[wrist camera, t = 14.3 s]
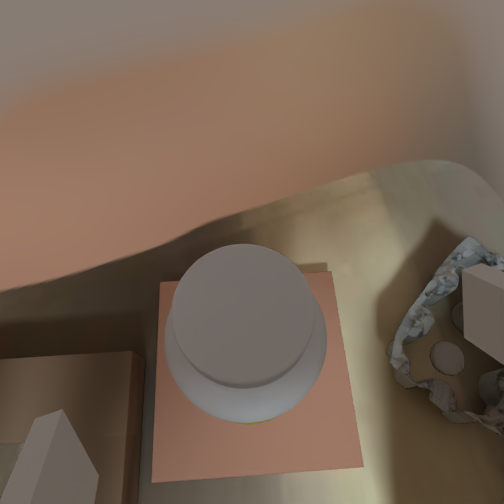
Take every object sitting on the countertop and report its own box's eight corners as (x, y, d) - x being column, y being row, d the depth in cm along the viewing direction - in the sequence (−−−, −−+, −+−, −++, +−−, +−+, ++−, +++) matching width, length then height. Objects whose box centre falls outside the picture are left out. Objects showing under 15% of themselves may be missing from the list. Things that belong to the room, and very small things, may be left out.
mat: (156, 480, 22) (151, 482, 21) (163, 286, 27) (160, 281, 26) (359, 465, 22) (363, 467, 21) (328, 276, 27) (331, 271, 26)
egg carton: (468, 443, 23) (509, 448, 19) (364, 360, 25) (383, 349, 21) (541, 314, 26) (588, 297, 22) (444, 251, 28) (473, 225, 25)
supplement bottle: (324, 367, 23) (392, 310, 12) (249, 451, 22) (242, 481, 10) (249, 295, 26) (245, 185, 14) (175, 365, 24) (96, 307, 12)
